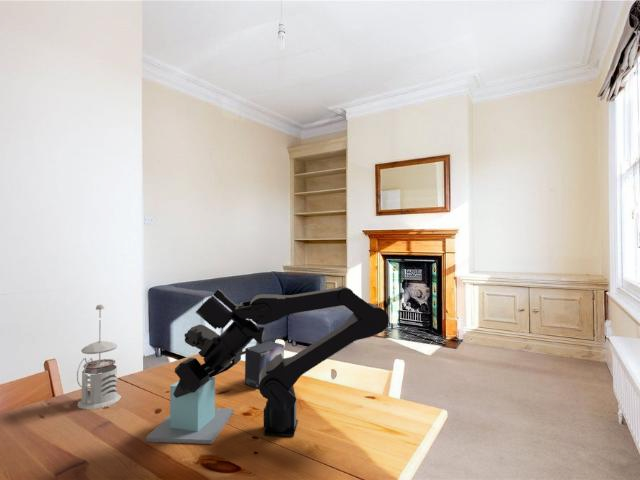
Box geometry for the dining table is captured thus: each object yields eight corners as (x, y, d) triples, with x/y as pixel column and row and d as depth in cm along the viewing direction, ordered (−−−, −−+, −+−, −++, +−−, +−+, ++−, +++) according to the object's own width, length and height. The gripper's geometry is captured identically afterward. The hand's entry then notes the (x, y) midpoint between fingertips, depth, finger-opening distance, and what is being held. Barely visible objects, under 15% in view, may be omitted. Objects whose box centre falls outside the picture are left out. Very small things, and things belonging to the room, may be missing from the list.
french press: (129, 393, 98) (129, 301, 99) (98, 413, 87) (99, 309, 87) (95, 392, 99) (96, 301, 100) (61, 411, 88) (61, 308, 88)
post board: (233, 412, 87) (233, 394, 87) (211, 444, 73) (212, 422, 73) (177, 410, 88) (177, 392, 88) (145, 441, 74) (145, 420, 74)
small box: (259, 389, 101) (259, 352, 101) (243, 384, 105) (243, 348, 105) (285, 378, 109) (285, 343, 109) (269, 374, 113) (269, 340, 113)
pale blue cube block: (214, 416, 83) (214, 377, 83) (197, 431, 77) (197, 389, 77) (189, 413, 85) (189, 374, 85) (170, 427, 78) (170, 385, 79)
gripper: (229, 307, 89) (190, 348, 92) (183, 323, 71) (135, 374, 74) (259, 341, 87) (218, 382, 90) (219, 366, 69) (169, 417, 72)
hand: (187, 387), depth 81 cm, fingers open, 9 cm apart
